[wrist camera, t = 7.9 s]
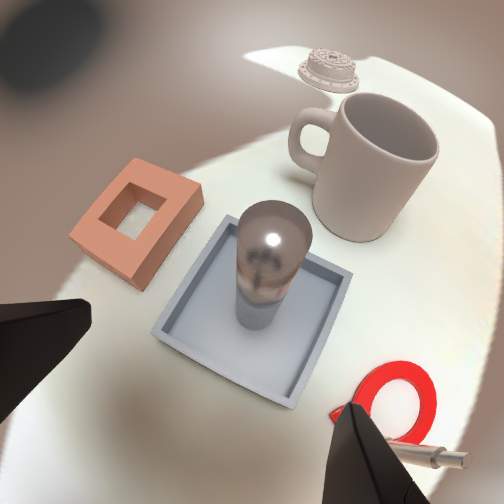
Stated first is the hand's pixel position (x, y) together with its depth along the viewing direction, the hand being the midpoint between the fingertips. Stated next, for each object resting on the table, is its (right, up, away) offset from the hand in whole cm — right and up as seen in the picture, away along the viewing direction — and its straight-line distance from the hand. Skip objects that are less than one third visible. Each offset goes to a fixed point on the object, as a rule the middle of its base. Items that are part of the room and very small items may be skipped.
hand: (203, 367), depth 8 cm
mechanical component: (+14, +32, +32) cm, 47 cm away
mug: (+10, +9, +20) cm, 24 cm away
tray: (+2, -1, +15) cm, 15 cm away
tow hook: (+13, -10, +11) cm, 20 cm away
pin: (+2, -1, +14) cm, 14 cm away
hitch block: (-9, +6, +18) cm, 21 cm away
